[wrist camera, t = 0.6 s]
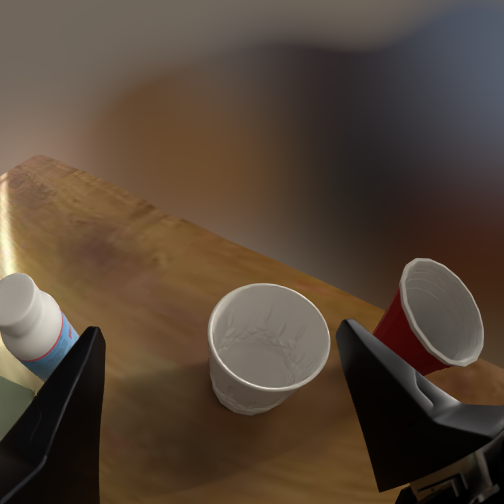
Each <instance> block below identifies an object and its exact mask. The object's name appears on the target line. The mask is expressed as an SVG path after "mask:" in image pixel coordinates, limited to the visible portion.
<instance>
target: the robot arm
mask: <svg viewBox="0 0 504 504" xmlns="http://www.w3.org/2000/svg"><path fill="white" fill-rule="evenodd" d="M336 341H337V345H338V350H339V354H340V359H341V364H342V368H343V372H344V375H345V378H346V381H347V384H348V387H349V390H350V393H351V396H352V400H353V403H354V406H355V409H356V412H357V416H358V419H359V422H360V425H361V429H362V432H363V435H364V439H365V442H366V446H367V449H368V453H369V457H370V460H371V464H372V468H373V471H374V475H375V479H376V483H377V487H378V490H379V492H383V491H387V490H390V489H393V488H396V487H399V486H402V485H404V484H407V483H410V485H409V486H408V487H406V488H404V489H402V490H401V491H400V494H399V496H398V498H397V500H396V502H395V504H504V405H503V406H489V405H469V404H464V403H461V402H459V401H457V400H456V399H454V398H453V397H451V396H450V395H448V394H447V393H445V392H444V391H442V390H441V389H440V388H438V387H437V386H435V385H434V384H433V383H431V382H430V381H429V380H427V379H426V378H425V377H424V376H422V375H421V374H420V373H419V372H417V371H415V369H414V368H413V367H411V366H410V365H409V364H408V363H407V362H405V361H404V360H403V359H402V358H400V357H399V356H398V355H397V354H396V353H394V352H393V351H392V350H391V349H390V348H388V347H387V346H386V345H385V344H383V343H382V342H381V341H380V340H379V339H377V338H376V337H375V336H374V335H372V334H371V333H370V332H369V331H368V330H366V329H365V328H364V327H363V326H361V325H360V324H359V323H358V322H357V321H355V320H354V319H345V320H343V321H342V322H341V324H340V326H339V328H338V330H337V332H336ZM105 351H106V343H105V340H104V337H103V335H102V332H101V330H100V328H99V327H93V326H89V327H88V328H87V329H86V330H85V331H84V332H83V333H82V335H81V336H80V337H79V338H78V340H77V341H76V342H75V343H74V345H73V346H72V347H71V349H70V350H69V351H68V352H67V354H66V355H65V356H64V358H63V359H62V360H61V361H60V363H59V364H58V365H57V367H56V368H55V369H54V371H53V372H52V374H51V375H50V376H49V378H48V379H47V380H46V382H45V383H44V385H43V386H42V387H41V389H40V390H39V392H38V393H37V396H35V397H34V399H33V400H32V402H31V403H30V404H29V406H28V407H27V409H26V410H25V411H24V413H23V414H22V415H21V416H20V418H19V419H18V420H17V422H16V423H15V424H14V425H13V426H12V428H11V429H10V430H9V431H8V432H7V434H6V435H5V436H4V437H3V439H2V440H1V441H0V504H100V497H99V441H100V425H101V412H102V402H103V393H104V382H105Z"/></svg>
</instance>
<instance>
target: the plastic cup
mask: <svg viewBox="0 0 504 504" xmlns="http://www.w3.org/2000/svg"><path fill="white" fill-rule="evenodd" d="M372 335H374V336H375V337H376V338H377V339H379V340H380V341H381V342H382V343H383V344H385V345H386V346H387V347H388V348H390V349H391V350H392V351H393V352H394V353H396V354H397V355H398V356H399V357H400V358H402V359H403V360H404V361H405V362H407V363H408V364H409V365H410V366H411V367H413V368H414V369H415V371H417V372H419V373H420V374H421V375H422V376H425V375H427V374H429V373H432V372H434V371H437V370H441V369H444V368H449V367H452V366H456V367H465V366H467V365H468V364H470V363H472V362H474V361H476V360H477V358H478V356H479V354H480V352H481V350H482V348H483V338H484V337H483V336H484V328H483V324H482V319H481V316H480V311H479V309H478V307H477V305H476V303H475V301H474V299H473V297H472V295H471V293H470V292H469V290H468V289H467V288H466V287H465V285H464V284H463V282H462V281H461V280H460V279H459V277H457V276H456V275H455V274H454V273H453V272H452V271H450V270H449V269H448V268H447V267H446V266H444V265H442V264H440V263H437V262H436V261H433V260H431V259H421V258H416V259H414V260H413V261H411V262H410V263H408V264H407V265H406V266H405V269H404V271H403V274H402V277H401V280H400V283H399V287H398V290H397V291H396V293H395V295H394V298H393V300H392V302H391V304H390V305H389V307H388V309H387V310H386V312H385V314H384V316H383V317H382V319H381V321H380V322H379V324H378V326H377V327H376V329H375V330H374V332H373V334H372Z"/></svg>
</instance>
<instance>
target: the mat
mask: <svg viewBox="0 0 504 504" xmlns="http://www.w3.org/2000/svg"><path fill="white" fill-rule="evenodd" d="M33 396H34V391H32V390H30V389H28V388H26V387H23V386H21V385H19V384H16V383H14V382H12V381H10V380H8V379H6V378H4V377H2V376H0V441H1V440H2V439H3V437H4V436H5V435H6V434H7V432H8V431H9V430H10V429H11V428H12V426H13V425H14V424H15V423H16V422H17V420H18V419H19V418H20V416H21V415H22V414H23V413H24V411H25V410H26V409H27V407H28V406H29V404H30V403H31V402H32V400H33Z"/></svg>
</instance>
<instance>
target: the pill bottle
mask: <svg viewBox="0 0 504 504" xmlns="http://www.w3.org/2000/svg"><path fill="white" fill-rule="evenodd" d="M0 332H1V337H2V340H3V342H4V344H5V346H6V348H7V349H8V350H9V351H10V352H11V353H12V355H14V356H15V357H16V358H17V359H18V360H19V361H20V362H21V363H22V364H23V365H25V366H26V367H27V368H28V369H29V370H30V371H31V372H33V373H34V374H35V375H36V376H38V377H39V378H40V379H41V380H43V381H44V382H46V380H47V379H48V378H49V376H50V375H51V374H52V372H53V371H54V369H55V368H56V367H57V365H58V364H59V363H60V361H61V360H62V359H63V358H64V356H65V355H66V354H67V352H68V351H69V350H70V349H71V347H72V346H73V345H74V343H75V342H76V341H77V340H78V338H79V336H78V334H77V333H76V331H75V330H74V329H73V327H72V326H71V324H70V323H69V321H68V320H67V318H66V317H65V315H64V314H63V312H62V311H61V309H60V307H59V306H58V304H57V303H56V302H55V300H54V299H53V298H52V297H51V296H50V295H49V294H47V293H45V292H43V291H40V290H39V289H38V287H37V286H36V285H35V283H34V281H33V280H32V279H31V278H30V277H29V276H28V275H26V274H24V273H14V274H11V275H8V276H7V277H5V278H3V279H2V280H1V281H0Z"/></svg>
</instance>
